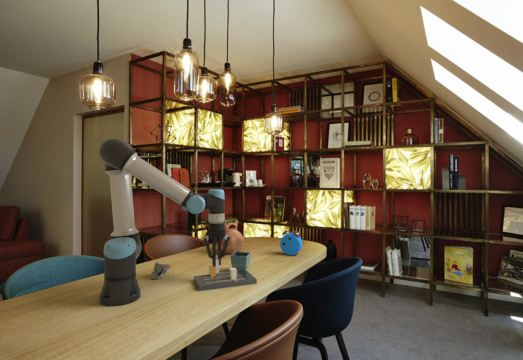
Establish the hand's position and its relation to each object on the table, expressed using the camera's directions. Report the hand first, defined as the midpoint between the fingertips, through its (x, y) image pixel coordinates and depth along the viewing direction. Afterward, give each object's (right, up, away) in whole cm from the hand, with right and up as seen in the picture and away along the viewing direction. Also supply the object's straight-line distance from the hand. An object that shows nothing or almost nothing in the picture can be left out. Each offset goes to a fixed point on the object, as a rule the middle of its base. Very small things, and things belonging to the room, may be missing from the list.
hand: (216, 272), depth 150 cm
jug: (+1, -4, +56) cm, 56 cm away
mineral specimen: (-28, -4, +7) cm, 29 cm away
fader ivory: (+8, -2, -4) cm, 9 cm away
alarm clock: (+40, -4, +50) cm, 64 cm away
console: (+4, -4, -2) cm, 6 cm away
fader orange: (-2, -2, -1) cm, 3 cm away
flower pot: (+10, -4, +15) cm, 18 cm away
